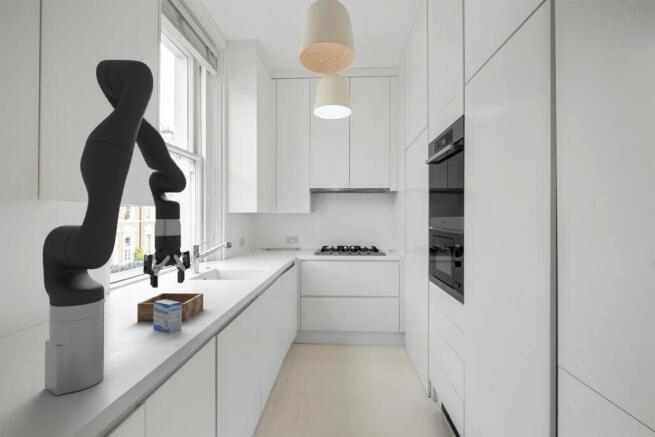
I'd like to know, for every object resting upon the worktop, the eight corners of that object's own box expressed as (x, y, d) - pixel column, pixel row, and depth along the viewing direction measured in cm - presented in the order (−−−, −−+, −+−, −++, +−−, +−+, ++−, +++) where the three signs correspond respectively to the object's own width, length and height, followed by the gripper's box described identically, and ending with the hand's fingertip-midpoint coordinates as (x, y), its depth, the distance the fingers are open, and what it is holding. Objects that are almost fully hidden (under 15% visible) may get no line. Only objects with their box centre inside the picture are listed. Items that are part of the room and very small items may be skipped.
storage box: (184, 321, 110) (184, 304, 110) (137, 321, 110) (137, 303, 111) (203, 308, 126) (203, 293, 126) (162, 308, 126) (162, 293, 127)
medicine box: (152, 329, 103) (152, 301, 103) (165, 325, 107) (165, 298, 107) (169, 333, 99) (169, 304, 99) (182, 329, 103) (182, 301, 103)
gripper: (152, 235, 95) (152, 291, 95) (195, 233, 107) (195, 282, 107) (138, 234, 99) (138, 287, 99) (181, 232, 111) (181, 280, 111)
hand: (168, 285), depth 103 cm, fingers open, 8 cm apart
